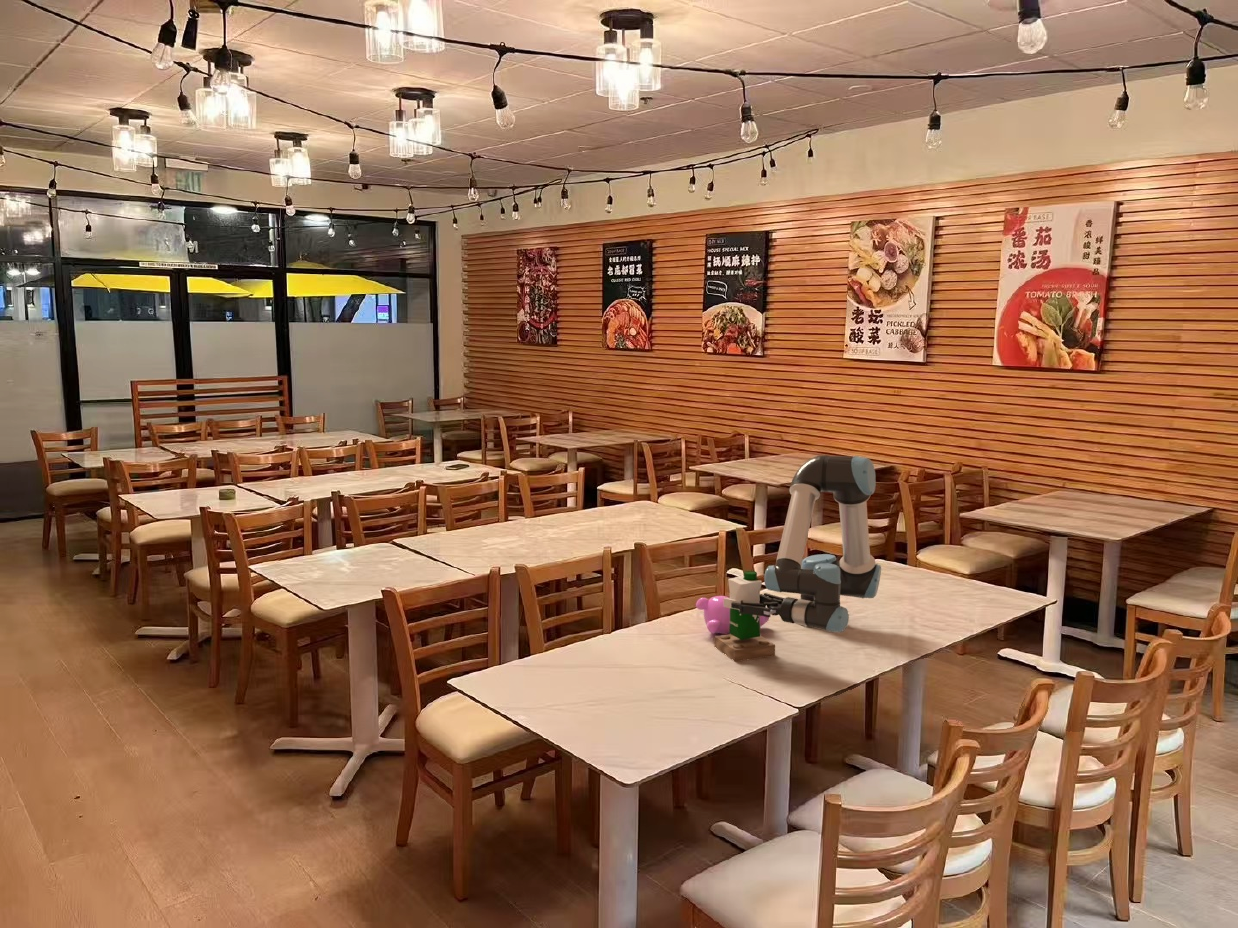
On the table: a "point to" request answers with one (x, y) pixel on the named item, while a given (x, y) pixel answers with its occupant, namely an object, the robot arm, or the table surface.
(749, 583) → the soya milk
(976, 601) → the table surface
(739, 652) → the base brick
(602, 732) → the table surface
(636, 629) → the table surface
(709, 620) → the toy character
